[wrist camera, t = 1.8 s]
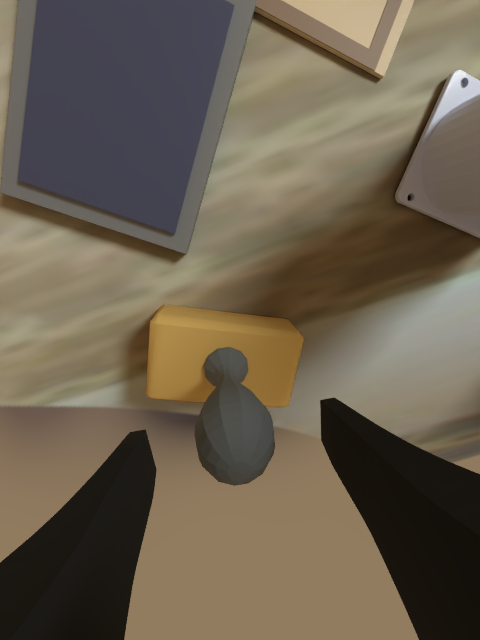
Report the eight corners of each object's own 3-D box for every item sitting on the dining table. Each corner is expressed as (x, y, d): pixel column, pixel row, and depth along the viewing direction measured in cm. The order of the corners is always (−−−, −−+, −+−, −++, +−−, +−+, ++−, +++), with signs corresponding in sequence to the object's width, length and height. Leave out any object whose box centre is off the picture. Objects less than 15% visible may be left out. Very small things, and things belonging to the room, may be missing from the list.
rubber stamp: (290, 318, 21) (385, 414, 10) (276, 383, 23) (344, 531, 11) (160, 302, 20) (93, 395, 8) (155, 373, 21) (93, 532, 10)
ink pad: (254, 11, 15) (258, -9, 14) (187, 253, 19) (185, 254, 17) (43, -102, 13) (26, -138, 12) (12, 194, 17) (-4, 191, 15)
